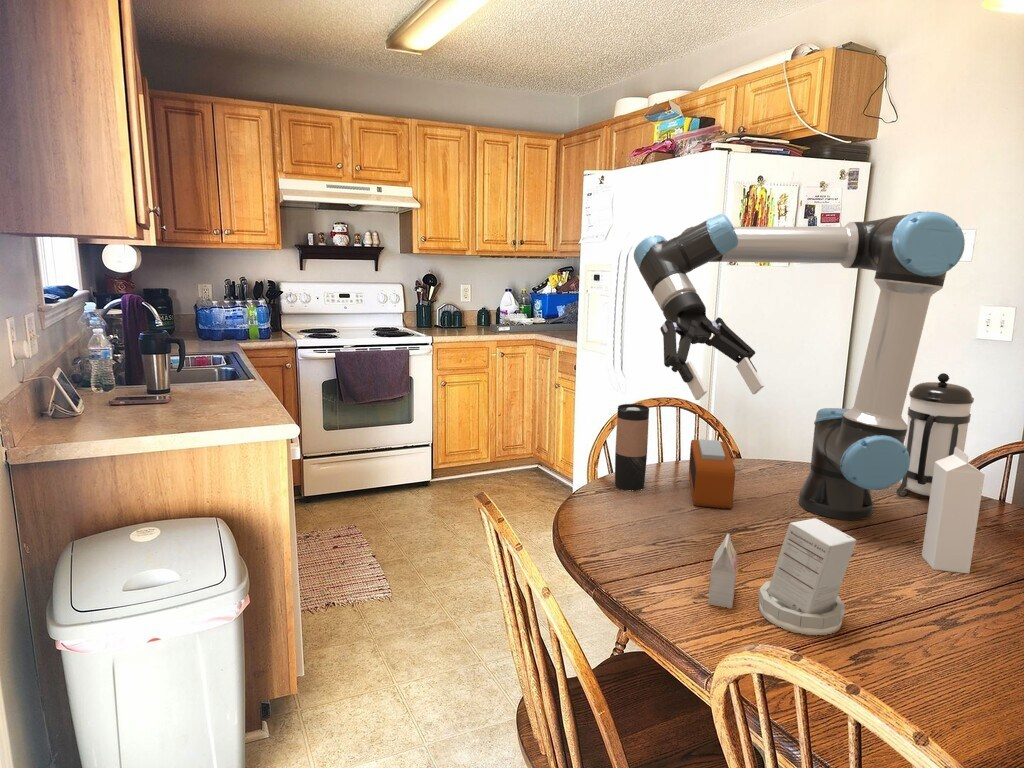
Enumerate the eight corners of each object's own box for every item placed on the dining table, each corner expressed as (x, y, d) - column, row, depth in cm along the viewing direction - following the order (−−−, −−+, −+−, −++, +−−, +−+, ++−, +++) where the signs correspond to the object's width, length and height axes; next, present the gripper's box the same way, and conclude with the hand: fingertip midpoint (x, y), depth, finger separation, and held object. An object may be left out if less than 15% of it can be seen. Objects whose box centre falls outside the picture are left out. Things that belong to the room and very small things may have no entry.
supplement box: (792, 585, 109) (815, 516, 106) (833, 612, 103) (859, 539, 100) (765, 592, 105) (788, 521, 102) (805, 620, 99) (831, 545, 96)
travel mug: (643, 481, 166) (647, 404, 163) (646, 492, 159) (651, 411, 155) (612, 480, 167) (616, 403, 163) (614, 490, 160) (618, 410, 156)
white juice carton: (708, 604, 107) (712, 546, 106) (712, 585, 114) (716, 530, 112) (731, 608, 106) (736, 550, 104) (734, 589, 112) (739, 534, 110)
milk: (932, 570, 121) (948, 454, 117) (921, 556, 127) (935, 445, 123) (970, 574, 119) (987, 456, 115) (957, 559, 125) (973, 447, 121)
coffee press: (875, 484, 168) (890, 367, 162) (939, 485, 167) (956, 368, 162) (914, 509, 151) (932, 380, 145) (985, 511, 150) (1006, 381, 145)
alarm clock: (688, 475, 173) (691, 433, 171) (721, 477, 171) (725, 435, 169) (693, 508, 150) (697, 460, 148) (732, 511, 148) (736, 462, 146)
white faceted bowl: (827, 599, 110) (829, 582, 109) (853, 639, 98) (855, 620, 97) (752, 592, 111) (753, 576, 111) (768, 631, 100) (770, 613, 99)
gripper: (717, 314, 137) (768, 399, 127) (618, 317, 126) (665, 410, 115) (738, 289, 131) (793, 376, 121) (637, 290, 120) (687, 385, 110)
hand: (730, 393), depth 118 cm, fingers open, 13 cm apart
